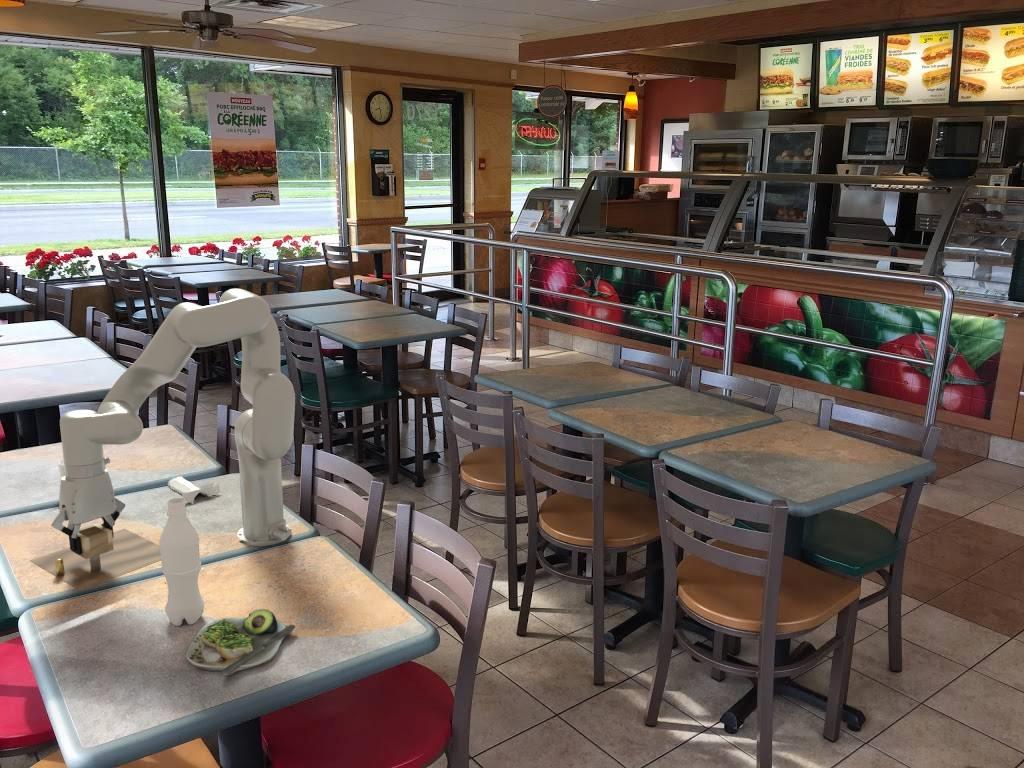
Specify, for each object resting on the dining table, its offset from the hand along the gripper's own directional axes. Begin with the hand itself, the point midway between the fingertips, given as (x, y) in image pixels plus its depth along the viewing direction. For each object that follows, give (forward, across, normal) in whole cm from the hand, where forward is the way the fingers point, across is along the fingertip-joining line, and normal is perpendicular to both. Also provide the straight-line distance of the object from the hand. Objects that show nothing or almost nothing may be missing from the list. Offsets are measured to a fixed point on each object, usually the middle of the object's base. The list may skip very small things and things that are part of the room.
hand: (92, 546), depth 181 cm
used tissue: (+7, -42, -26) cm, 50 cm away
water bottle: (+6, -1, +32) cm, 33 cm away
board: (+6, -4, -4) cm, 9 cm away
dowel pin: (+5, +6, -3) cm, 8 cm away
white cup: (+7, -20, -47) cm, 51 cm away
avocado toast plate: (+7, -2, +48) cm, 49 cm away
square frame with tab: (+1, 0, -2) cm, 3 cm away
